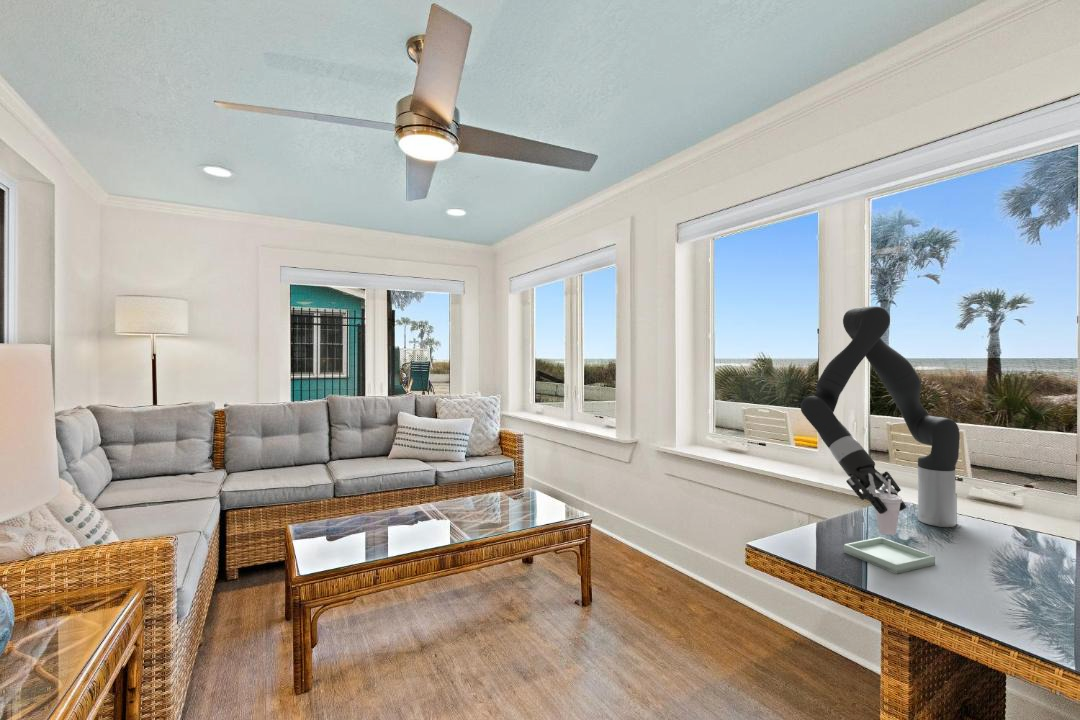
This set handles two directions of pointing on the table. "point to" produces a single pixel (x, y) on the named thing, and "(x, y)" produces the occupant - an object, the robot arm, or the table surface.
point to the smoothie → (888, 512)
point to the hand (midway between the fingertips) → (893, 510)
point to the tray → (889, 555)
